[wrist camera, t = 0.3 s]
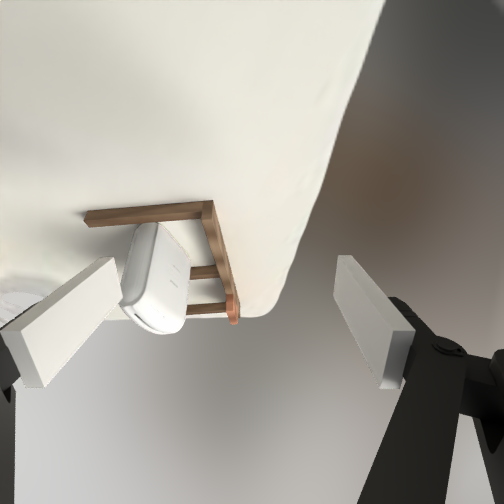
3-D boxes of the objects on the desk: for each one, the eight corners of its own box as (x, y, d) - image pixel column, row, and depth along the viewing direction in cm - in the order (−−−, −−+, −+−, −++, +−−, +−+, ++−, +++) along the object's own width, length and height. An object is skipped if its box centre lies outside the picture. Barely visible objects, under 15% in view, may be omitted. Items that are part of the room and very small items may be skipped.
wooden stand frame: (87, 210, 32) (70, 251, 28) (213, 200, 31) (210, 240, 28) (168, 309, 56) (163, 337, 52) (239, 303, 55) (240, 332, 52)
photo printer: (195, 260, 41) (187, 339, 34) (170, 265, 42) (158, 343, 35) (160, 217, 33) (140, 309, 26) (130, 224, 34) (103, 315, 27)
